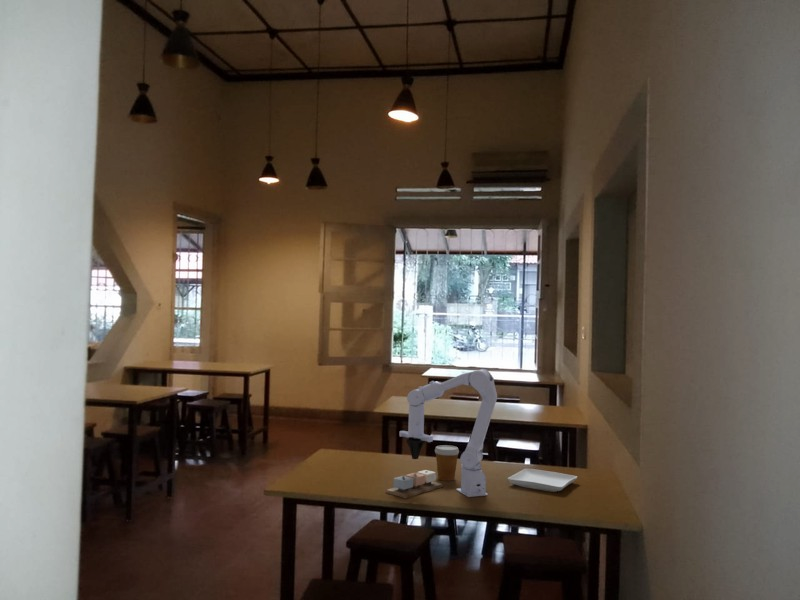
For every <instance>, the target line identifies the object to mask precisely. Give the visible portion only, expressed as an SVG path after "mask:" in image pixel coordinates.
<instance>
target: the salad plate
mask: <svg viewBox="0 0 800 600" xmlns="http://www.w3.org/2000/svg"><path fill="white" fill-rule="evenodd" d="M577 478H578V476H577V475H572V474H566V473H561V472H557V471H556V472H555V471H549V470H543V469H534V468H523V469H522V470H520V471H518V472H516V473H515V474H513V475H510V476H509V477H507V480H508V482H510V483H511V484H513V485H516V486H518V487H523V488H527V489H533V490H534V489H535V490H539V491H540V490H541V491H545V492H553V493H557V491H558V492H560V491H562V490H563V489H565V488H566V487H567V486H569V485H570V484H572V483H573V482H575V481H576V480H577Z"/></svg>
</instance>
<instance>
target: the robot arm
mask: <svg viewBox="0 0 800 600" xmlns="http://www.w3.org/2000/svg"><path fill="white" fill-rule="evenodd" d="M461 385H465V386H472V388H473V389H475V390H476V391H477V392H478V393H479V395H480V397H481V399H482V400H481V403H480V406H479V409H478V412H477V416H476V419H475V422H474V426H473V428H472V431H471V436H470V439H469V441H468V442H467V445H466V448H465V450H464V451H463V452H462V453H461V455H460V458H459V459H460V464H461V465H460V466H461V468H460V469H461V471H460V476H461V478H460V488H456V489H455V490H456V491H457V492H459V493H461V494H462V495H464V496H466V497H468V498H471V497H472V498H473V497H483V496H488V495H489V494H488V493H487V491H486V490H487V487H486V486H487V477H486V474H485V473H484V472H483V470H482V464H481V462H482V460H483V457H484V455H483V454H484V453H483V449H484V442H485V438H486V435H487V432H488V428H489V426H490V422H491V419H492V415H493V413H494V409H495V406H496V403H497V400H498V392H497V389H496V385H495V379H494V377H493V375H492V374H491V372H490V371H489V370H488V369H486V368H481V369H477V370H472V371H468V372H465V373H461V374H459V375H457V376H455V377H453V378H450V379H447V380H444V381H443V382H441V381H434V380H431V381H429V383H428V384H426V385H423V386H422V385H420V386H418V388H417V389H416V388H415V389H412V390H411V391H409V392H408V394H407V397H406V399H407V403H408V429H407V430H408V431H406V430H400V431H399V437H402V438H403V437H404V438H408V439H406V444H407V446H408V447H409V451H410V454H411V459H412V460H419V457H420V453H421V451H422V448H423V446H424V444H425V443H426V442H427V443H431V442H433V441H434V436H433V435H429V434H425V433H424V431H425V429H424V428H425V425H424V424H425V402H430V401H433V400H435V399H437V398H440V397H442V396H443V395H444V392H445V391H448V390H450V389H454V388H455V387H458V386H461Z"/></svg>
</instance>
